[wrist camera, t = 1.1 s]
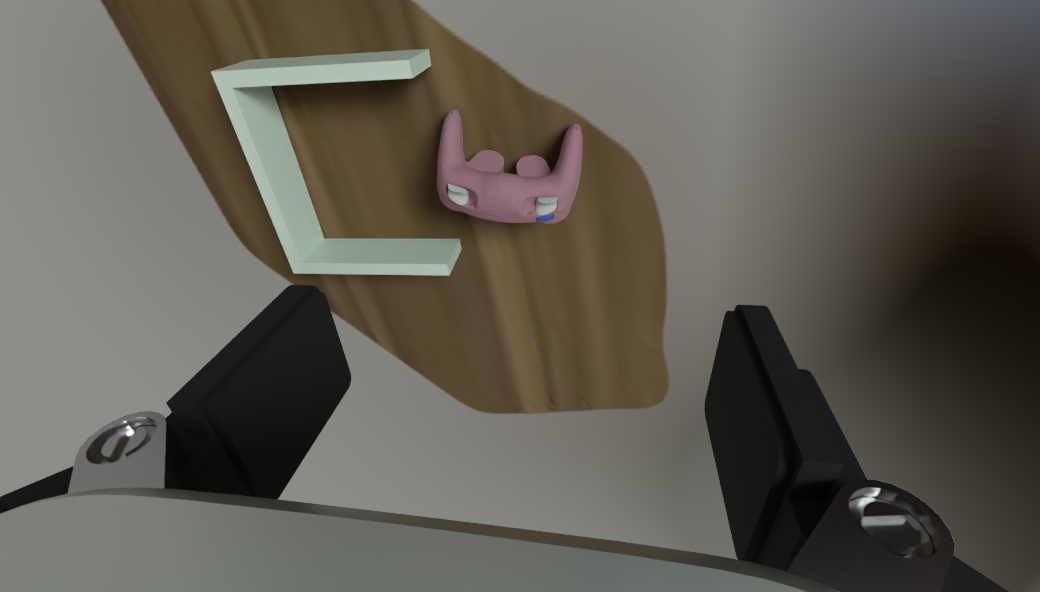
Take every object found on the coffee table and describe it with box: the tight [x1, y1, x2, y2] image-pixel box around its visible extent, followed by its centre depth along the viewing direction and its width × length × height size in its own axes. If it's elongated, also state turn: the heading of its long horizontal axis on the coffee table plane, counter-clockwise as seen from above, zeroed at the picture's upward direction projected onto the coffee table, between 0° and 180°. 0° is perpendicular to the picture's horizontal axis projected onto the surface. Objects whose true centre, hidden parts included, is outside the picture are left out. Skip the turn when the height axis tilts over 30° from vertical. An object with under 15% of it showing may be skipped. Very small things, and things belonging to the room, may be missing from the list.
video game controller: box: [437, 109, 583, 224], centre depth 33 cm, size 10×5×7 cm, turn 86°
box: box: [211, 49, 461, 275], centre depth 35 cm, size 15×13×4 cm
